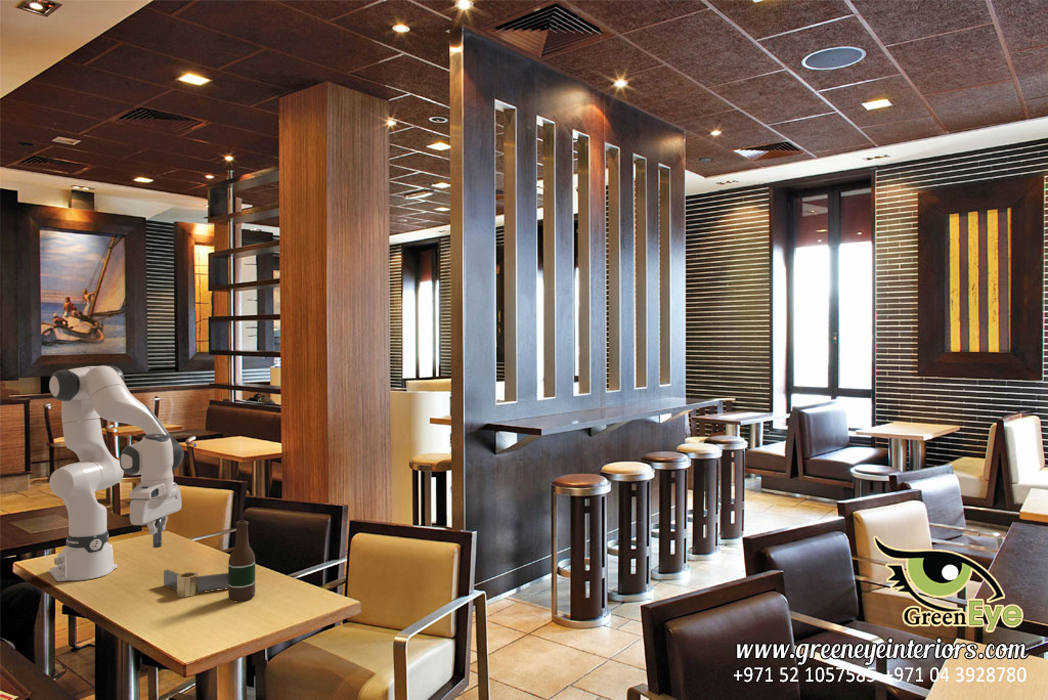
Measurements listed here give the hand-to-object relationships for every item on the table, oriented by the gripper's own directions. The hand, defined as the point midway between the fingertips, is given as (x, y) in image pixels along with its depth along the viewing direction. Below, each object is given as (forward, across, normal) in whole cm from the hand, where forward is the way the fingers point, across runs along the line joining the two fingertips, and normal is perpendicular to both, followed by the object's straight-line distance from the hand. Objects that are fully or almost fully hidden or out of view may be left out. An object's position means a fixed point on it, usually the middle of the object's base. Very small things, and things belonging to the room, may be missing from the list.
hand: (157, 532), depth 211 cm
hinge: (+21, -13, +5) cm, 25 cm away
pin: (+4, 0, 0) cm, 4 cm away
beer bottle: (+22, -6, +24) cm, 33 cm away
